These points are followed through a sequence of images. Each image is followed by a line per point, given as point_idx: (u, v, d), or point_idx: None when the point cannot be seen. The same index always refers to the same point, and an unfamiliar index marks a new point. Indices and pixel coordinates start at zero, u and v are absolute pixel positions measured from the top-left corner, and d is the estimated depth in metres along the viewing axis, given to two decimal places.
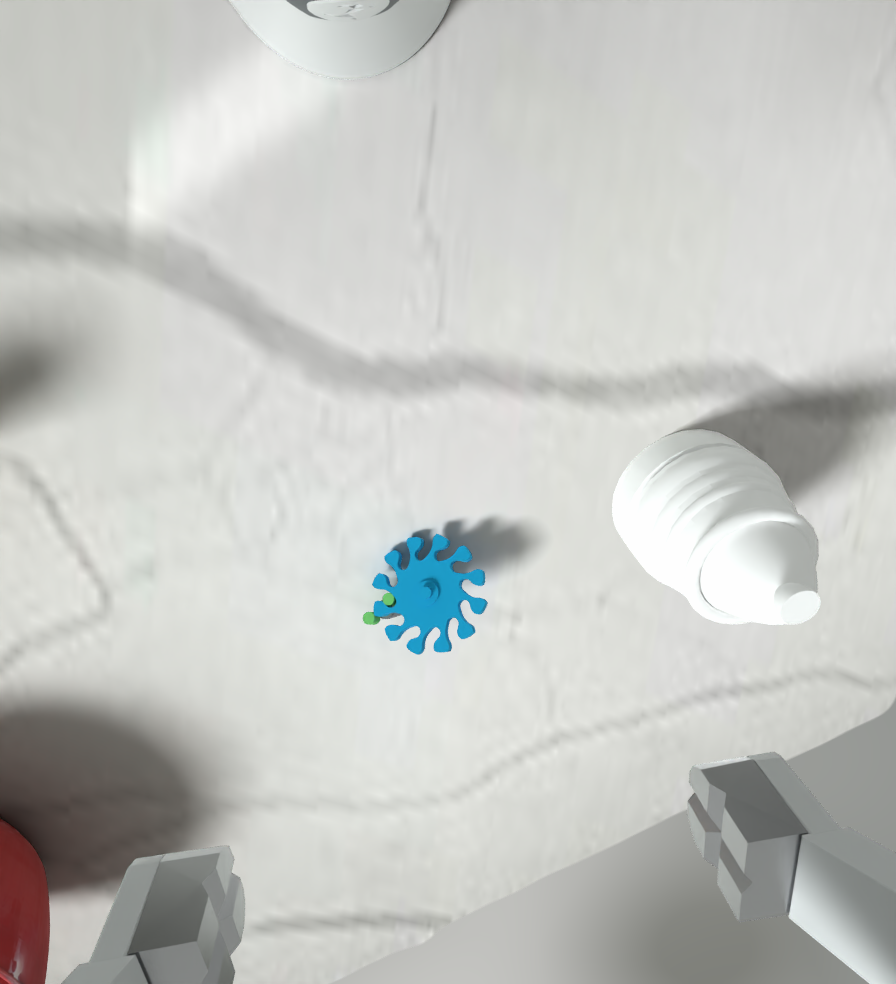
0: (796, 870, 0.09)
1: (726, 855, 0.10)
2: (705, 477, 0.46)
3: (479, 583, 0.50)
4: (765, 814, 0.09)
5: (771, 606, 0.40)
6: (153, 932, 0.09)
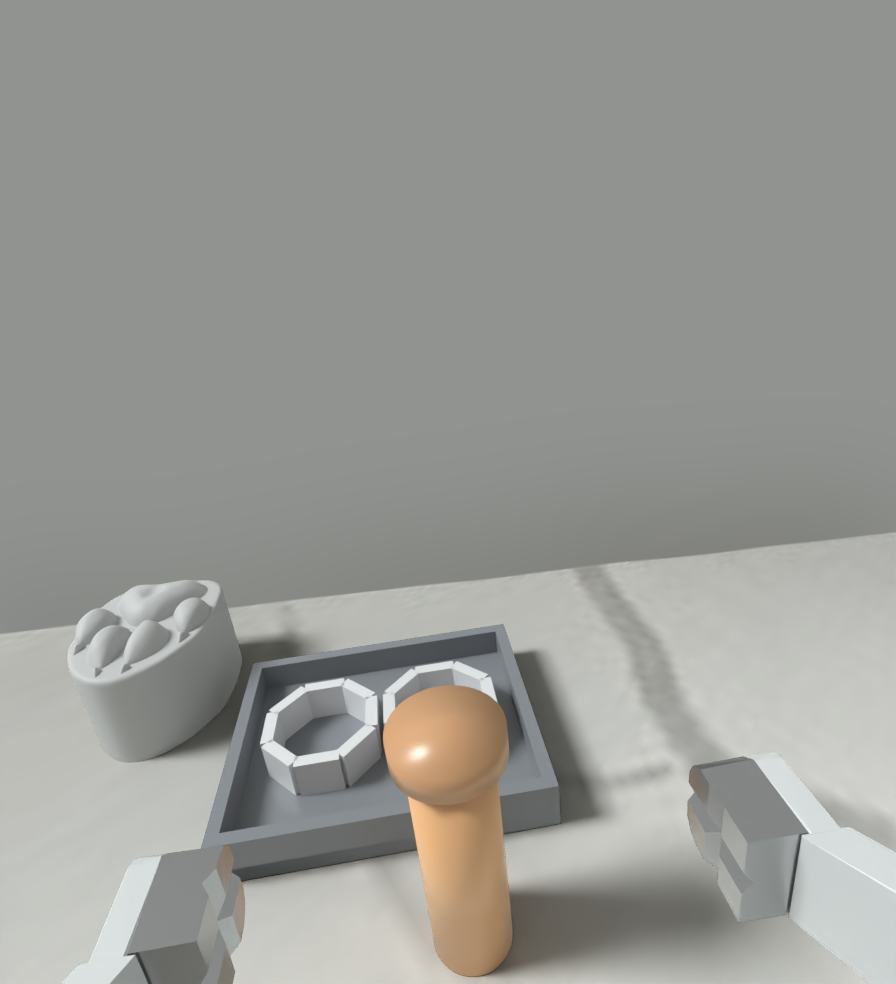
0: (796, 870, 0.09)
1: (726, 855, 0.10)
2: None
3: None
4: (765, 814, 0.09)
5: None
6: (153, 932, 0.09)
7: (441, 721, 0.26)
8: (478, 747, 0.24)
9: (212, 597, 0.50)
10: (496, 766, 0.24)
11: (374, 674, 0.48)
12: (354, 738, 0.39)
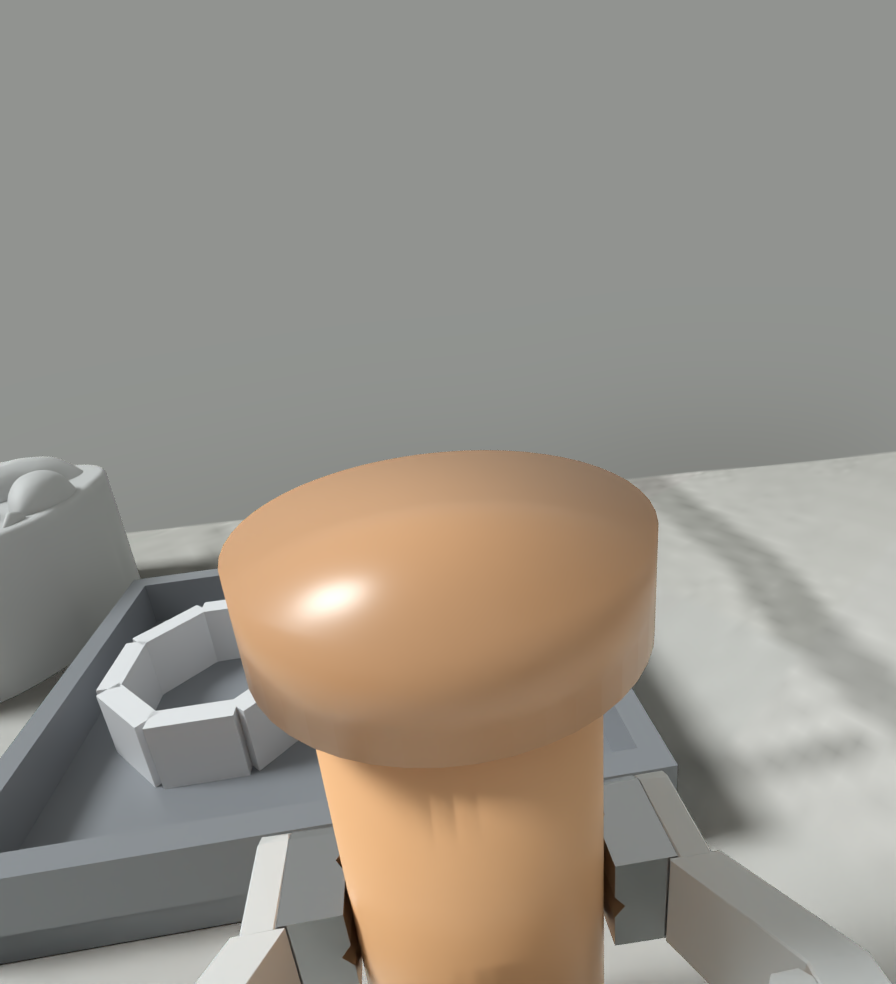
0: (668, 893, 0.09)
1: (605, 877, 0.10)
2: None
3: None
4: (638, 836, 0.09)
5: None
6: (296, 906, 0.09)
7: (427, 505, 0.08)
8: (563, 553, 0.06)
9: (85, 479, 0.32)
10: (636, 621, 0.06)
11: None
12: None
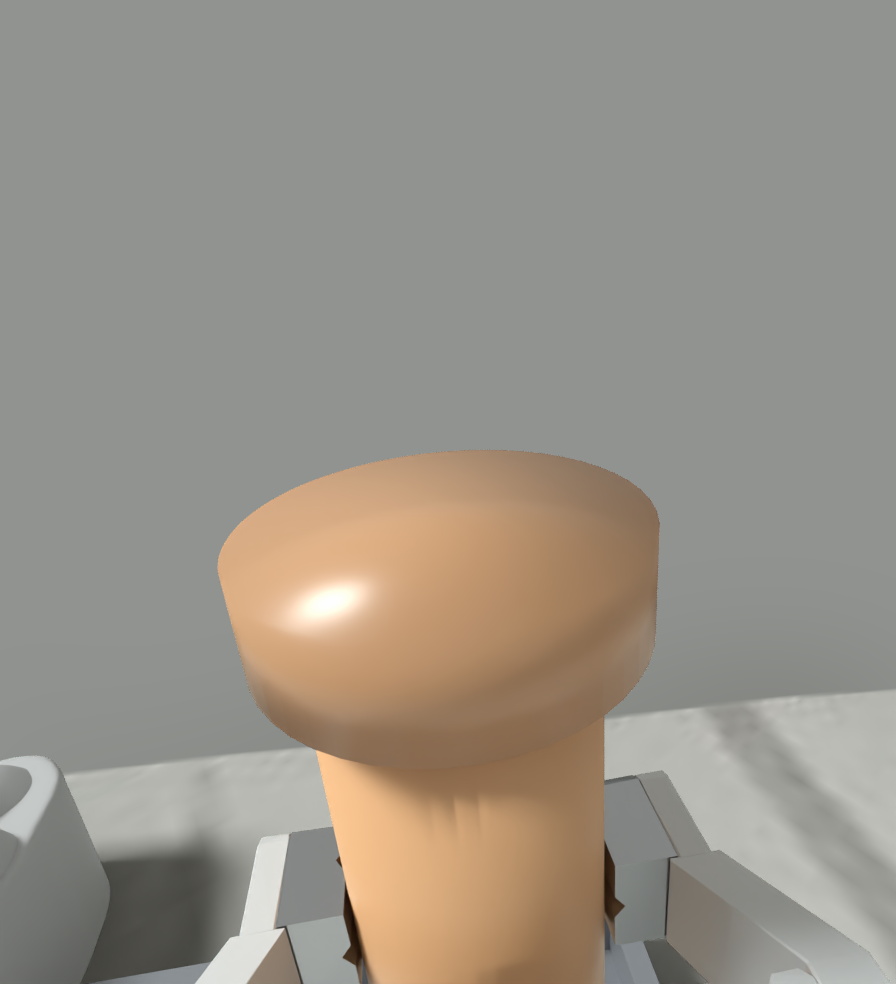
0: (669, 893, 0.09)
1: (605, 877, 0.10)
2: None
3: None
4: (638, 836, 0.09)
5: None
6: (297, 906, 0.09)
7: (427, 505, 0.08)
8: (563, 553, 0.06)
9: (31, 812, 0.24)
10: (637, 621, 0.06)
11: None
12: None
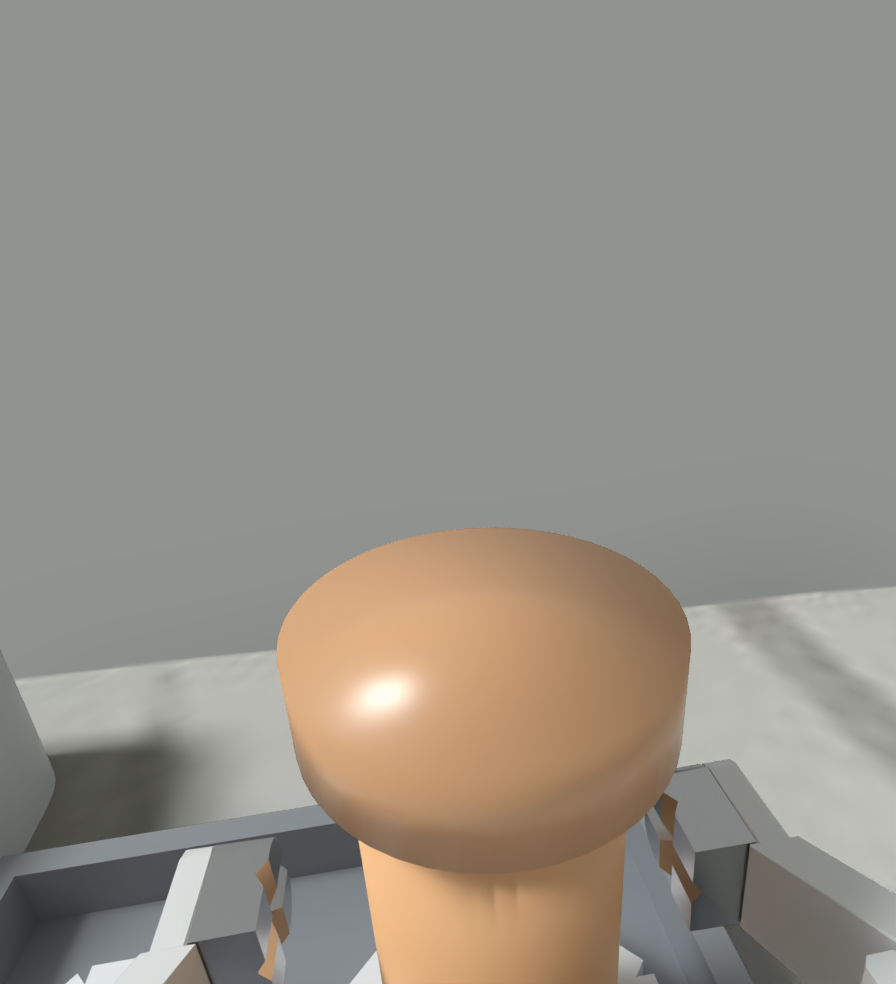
0: (745, 879, 0.09)
1: (678, 864, 0.10)
2: None
3: None
4: (715, 823, 0.09)
5: None
6: (210, 921, 0.09)
7: (469, 598, 0.08)
8: (604, 665, 0.07)
9: None
10: (671, 733, 0.07)
11: (312, 885, 0.19)
12: None
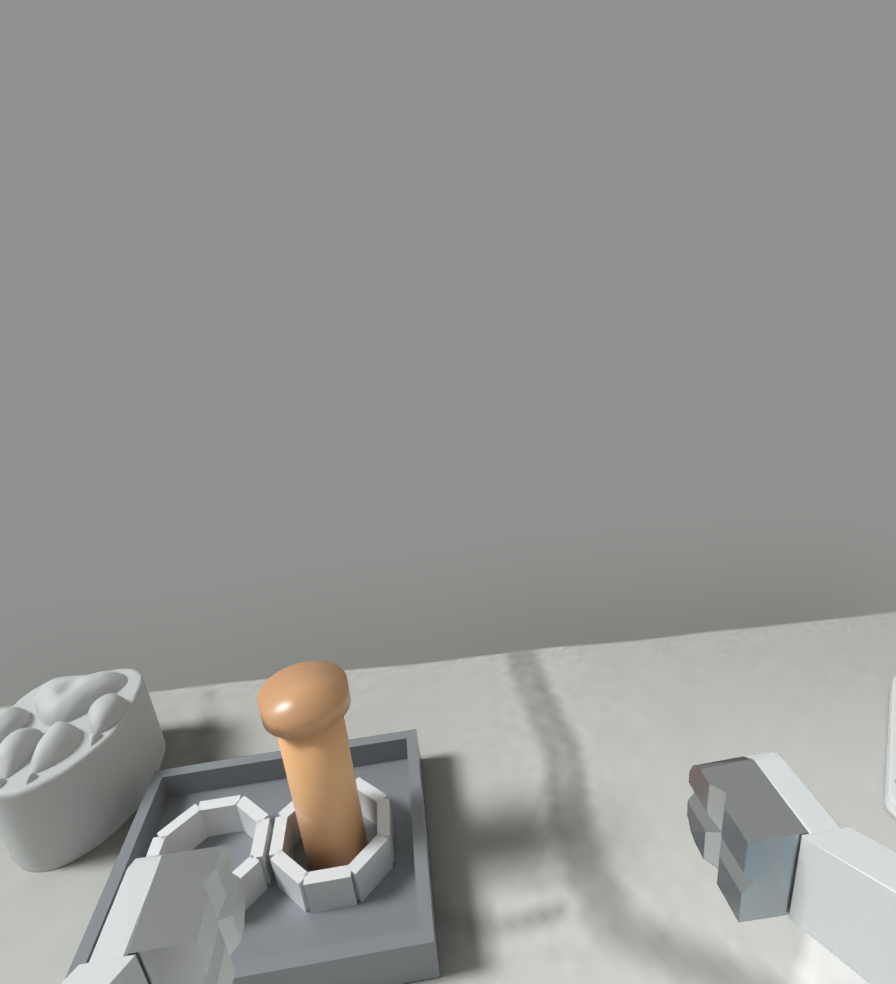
0: (796, 870, 0.09)
1: (726, 855, 0.10)
2: None
3: None
4: (765, 814, 0.09)
5: None
6: (153, 932, 0.09)
7: (301, 684, 0.36)
8: (321, 700, 0.35)
9: (131, 690, 0.49)
10: (333, 713, 0.35)
11: (280, 782, 0.47)
12: (235, 874, 0.37)
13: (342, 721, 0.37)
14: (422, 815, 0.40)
